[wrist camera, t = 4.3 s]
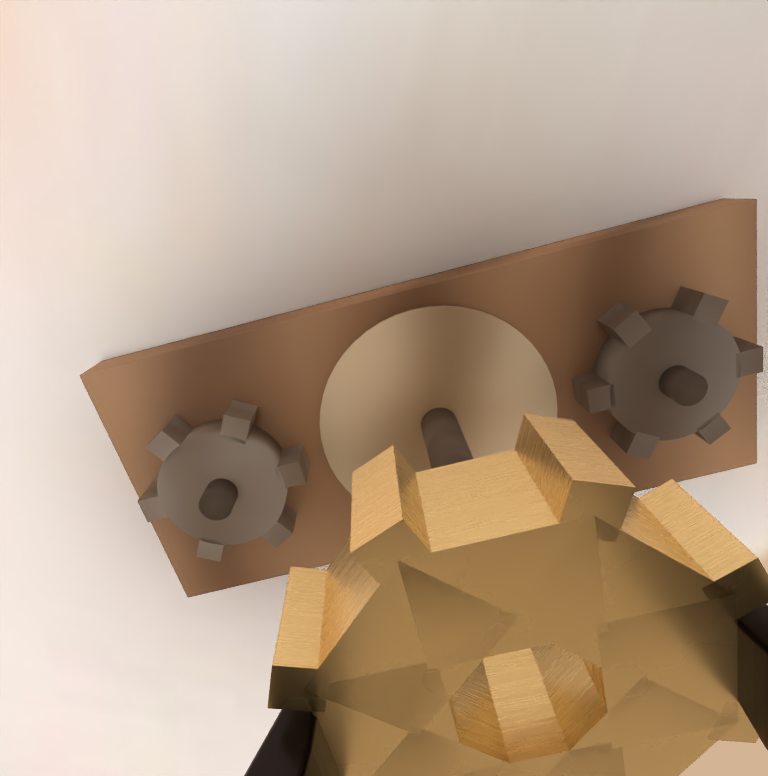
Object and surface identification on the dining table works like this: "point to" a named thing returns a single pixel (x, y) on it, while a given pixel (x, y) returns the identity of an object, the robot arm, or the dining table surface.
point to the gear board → (442, 386)
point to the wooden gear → (520, 620)
